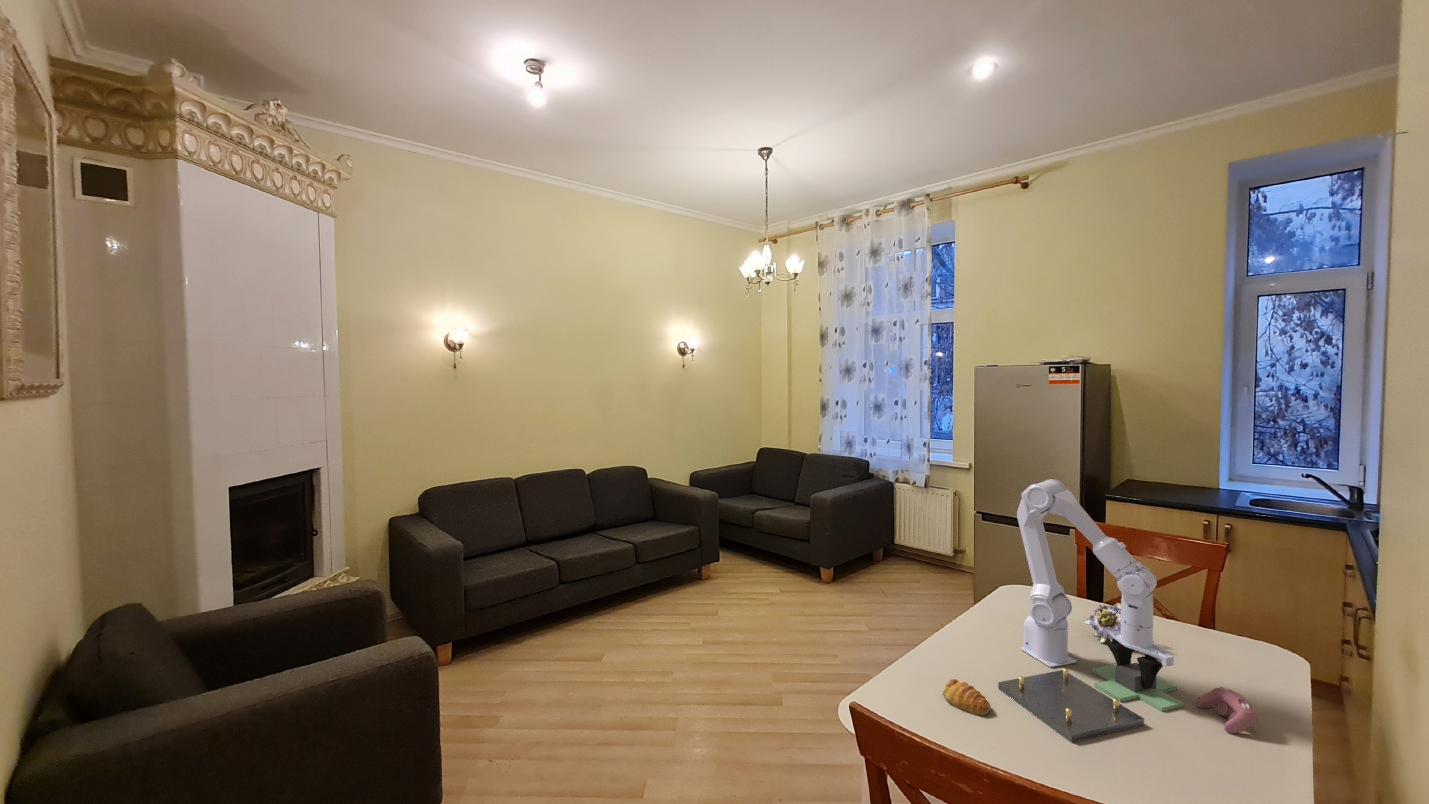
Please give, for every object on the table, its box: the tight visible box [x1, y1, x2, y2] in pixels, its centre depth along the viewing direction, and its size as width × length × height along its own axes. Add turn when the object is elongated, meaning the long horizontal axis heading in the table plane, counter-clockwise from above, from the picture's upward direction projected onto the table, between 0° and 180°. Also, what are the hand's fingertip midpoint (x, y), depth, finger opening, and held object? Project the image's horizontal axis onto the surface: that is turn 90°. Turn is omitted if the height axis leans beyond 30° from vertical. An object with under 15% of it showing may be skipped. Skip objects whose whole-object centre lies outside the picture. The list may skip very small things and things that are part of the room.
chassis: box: [997, 667, 1145, 743], centre depth 118 cm, size 19×18×4 cm
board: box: [1091, 662, 1185, 712], centre depth 124 cm, size 16×16×4 cm
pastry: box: [942, 678, 991, 716], centre depth 120 cm, size 9×7×4 cm
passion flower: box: [1082, 602, 1121, 644], centre depth 145 cm, size 11×11×12 cm
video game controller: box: [1196, 685, 1259, 734], centre depth 112 cm, size 10×5×7 cm, turn 169°
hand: (1135, 681), depth 124 cm, fingers closed on board, 4 cm apart
